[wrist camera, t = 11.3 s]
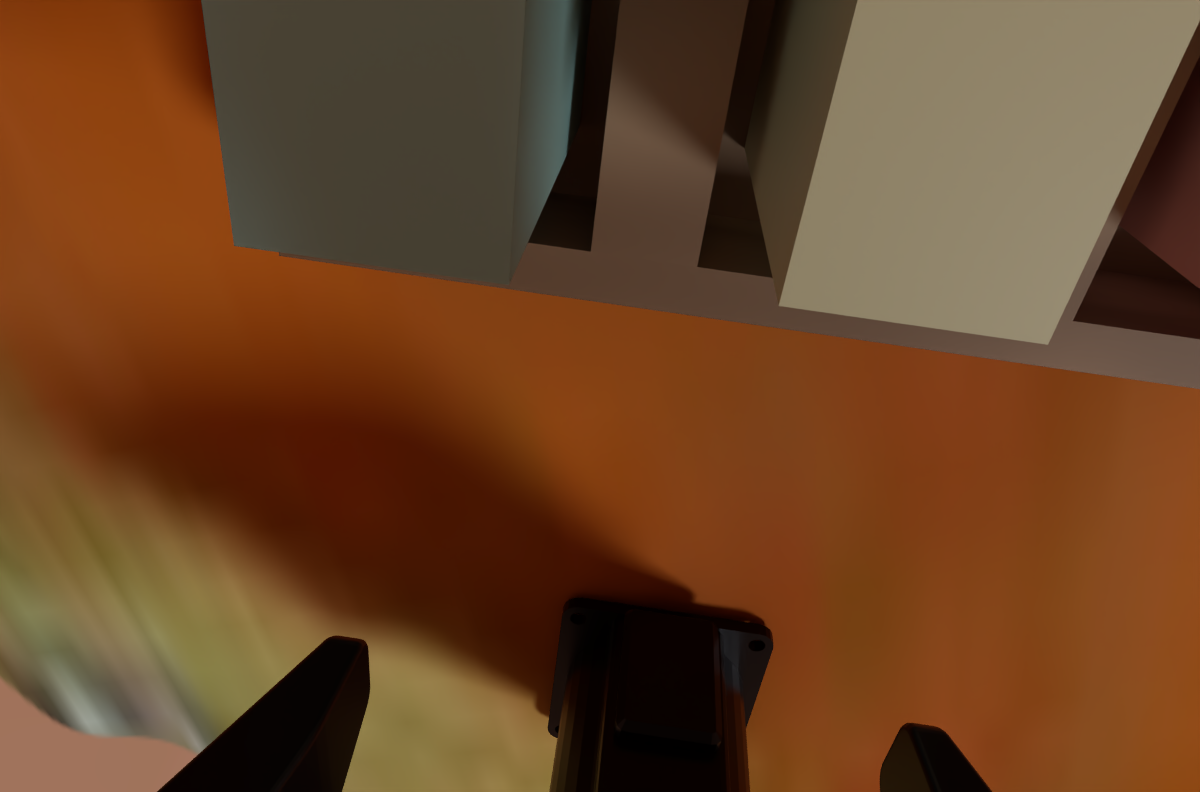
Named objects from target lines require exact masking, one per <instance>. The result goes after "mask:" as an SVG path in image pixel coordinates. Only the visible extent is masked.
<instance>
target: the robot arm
mask: <svg viewBox="0 0 1200 792" xmlns="http://www.w3.org/2000/svg"><path fill="white" fill-rule="evenodd" d="M575 613H581V614H584V615H578V614H575ZM753 640H760V641H753ZM772 650H773V637H772V632H771V631H770V629H769V628H767V627H766V626H763V625H760V624H753V623H747V622H740V621H733V620H727V619H720V618H713V617H707V616H700V615H693V614H687V613H680V612H673V611H667V610H660V609H653V608H647V607H640V606H633V605H627V604H620V603H614V602H607V601H600V600H594V599H587V598H572V599H569V600H568V601H567V602H566V603H565V605H564V609H563V615H562V622H561V630H560V638H559V645H558V653H557V661H556V669H555V676H554V684H553V692H552V699H551V707H550V715H549V722H548V731H549V733H550V734H551V735H552V736H554V737H556V738H558V739H557V745H556V752H555V758H554V765H553V772H552V778H551V785H550V791H549V792H750V783H749V769H748V755H747V740H746V727H747V724H748V721H749V718H750V715H751V712H752V709H753V706H754V703H755V700H756V697H757V694H758V691H759V688H760V685H761V682H762V679H763V676H764V674H765V671H766V668H767V665H768V662H769V659H770V656H771V653H772ZM369 694H370V673H369V654H368V646H367V643H366V642H365V641H364V640H362V639H357V638H350V637H343V636H332V637H329V638H327V639H326V640H325V641H324V642H323V643H321V644H320V645H319V646H318V647H317V648H316V649H315V650H314V651H313V652H311V653H310V654H309V655H308V656H307V657H306V658H305V659H304V660H303V661H301V662H300V663H299V664H298V665H297V666H296V667H295V668H294V669H293V670H291V671H290V672H289V673H288V674H287V675H286V676H285V677H284V678H283V679H282V680H280V681H279V682H278V683H277V684H276V685H275V686H274V687H273V688H272V689H270V690H269V691H268V692H267V693H266V694H265V695H264V696H263V697H262V698H260V699H259V700H258V701H257V702H256V703H255V704H254V705H253V706H252V707H250V708H249V709H248V710H247V711H246V712H245V713H244V714H243V715H242V716H240V717H239V718H238V719H237V720H236V721H235V722H234V723H233V724H232V725H231V726H229V727H228V728H227V729H226V730H225V731H224V732H223V733H222V734H221V735H219V736H218V737H217V738H216V739H215V740H214V741H213V742H212V743H211V744H209V745H208V746H207V747H206V748H205V749H204V750H203V751H202V752H201V753H199V754H198V755H197V756H196V757H195V758H194V759H193V760H192V761H191V762H190V763H188V764H187V765H186V766H185V767H184V768H183V769H182V770H181V771H180V772H178V773H177V774H176V775H175V776H174V777H173V778H172V779H171V780H170V781H168V782H167V783H166V784H165V785H164V786H163V787H162V788H161V789H160V790H159V791H157V792H342V789H343V786H344V783H345V779H346V776H347V772H348V769H349V766H350V762H351V759H352V755H353V752H354V749H355V745H356V742H357V738H358V735H359V732H360V728H361V725H362V721H363V718H364V715H365V711H366V708H367V704H368V699H369ZM880 792H992V791H991V789H990V788H989V787H988V786H987V784H986V783H985V782H984V780H983V779H982V778H981V777H980V775H979V774H978V773H977V771H976V770H975V769H974V768H973V766H972V765H971V764H970V762H969V761H968V760H967V758H966V757H965V756H964V755H963V753H962V752H961V751H960V749H959V748H958V747H957V746H956V744H955V743H954V742H953V740H952V739H951V738H950V737H949V735H948V734H947V733H946V732H945V731H943V730H942V729H940V728H938V727H935V726H929V725H922V724H916V723H906V724H905V725H903V726H902V727H901V728H900V730H899V732H898V734H897V736H896V738H895V740H894V742H893V744H892V746H891V748H890V750H889V752H888V754H887V756H886V758H885V760H884V762H883V764H882V768H881V772H880Z"/></svg>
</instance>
